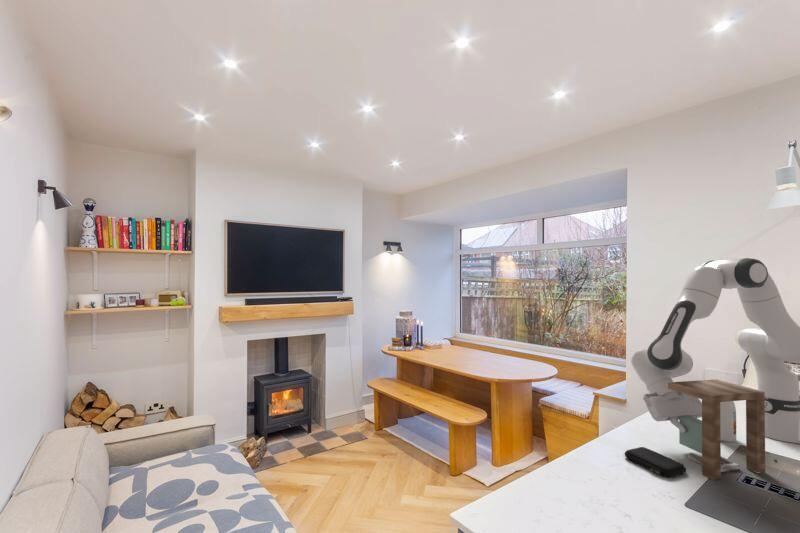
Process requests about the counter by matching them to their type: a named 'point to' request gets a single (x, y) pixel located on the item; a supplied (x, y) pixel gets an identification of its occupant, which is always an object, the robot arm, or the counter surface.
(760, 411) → the walnut overhang shelf
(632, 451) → the carrying case or bag
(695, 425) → the sage rectangular block
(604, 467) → the counter surface
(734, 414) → the milk bottle
